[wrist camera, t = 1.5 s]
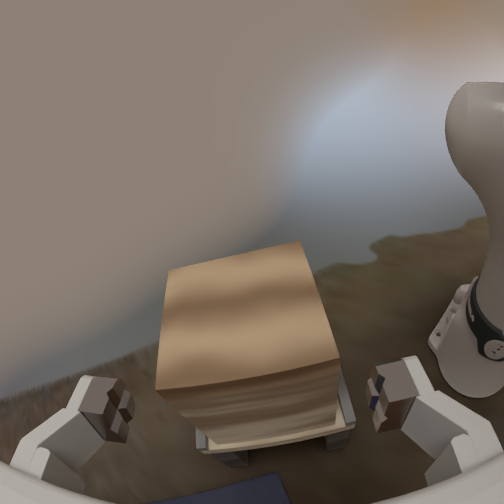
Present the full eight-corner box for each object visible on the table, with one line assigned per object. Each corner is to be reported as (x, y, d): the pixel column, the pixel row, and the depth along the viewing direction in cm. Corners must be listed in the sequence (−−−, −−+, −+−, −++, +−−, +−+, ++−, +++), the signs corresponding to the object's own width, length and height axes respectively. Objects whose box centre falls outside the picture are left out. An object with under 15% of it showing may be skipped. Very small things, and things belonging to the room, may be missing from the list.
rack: (347, 447, 33) (356, 420, 25) (229, 469, 34) (196, 448, 26) (313, 321, 51) (308, 268, 43) (221, 341, 51) (197, 292, 44)
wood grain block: (335, 424, 26) (339, 357, 18) (217, 444, 27) (155, 389, 18) (311, 332, 36) (299, 240, 27) (213, 352, 36) (168, 270, 28)
